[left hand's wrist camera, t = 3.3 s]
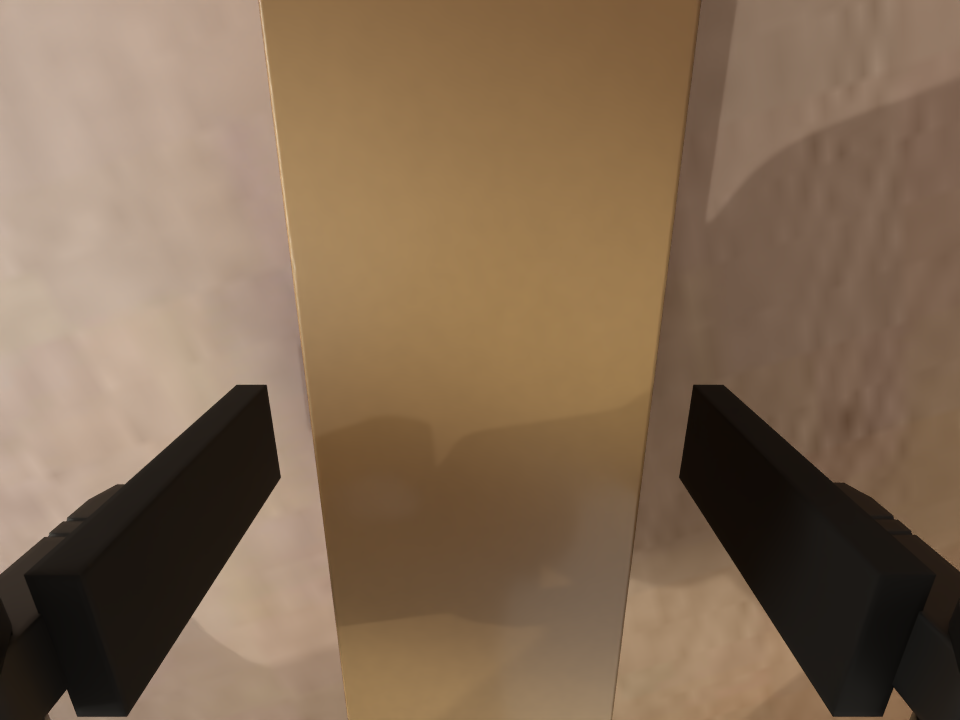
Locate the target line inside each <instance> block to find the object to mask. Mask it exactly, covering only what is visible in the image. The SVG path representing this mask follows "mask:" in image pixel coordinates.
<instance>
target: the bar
mask: <svg viewBox="0 0 960 720" xmlns="http://www.w3.org/2000/svg"><path fill="white" fill-rule="evenodd" d="M258 2H259V10H260V18H261V26H262V34H263V42H264V50H265V58H266V66H267V74H268V82H269V90H270V98H271V106H272V114H273V122H274V130H275V138H276V146H277V154H278V162H279V170H280V178H281V186H282V194H283V202H284V210H285V218H286V226H287V234H288V242H289V250H290V259H291V267H292V275H293V283H294V291H295V299H296V307H297V315H298V323H299V331H300V339H301V347H302V355H303V363H304V371H305V379H306V387H307V395H308V403H309V411H310V419H311V427H312V435H313V443H314V451H315V459H316V467H317V475H318V483H319V491H320V499H321V507H322V516H323V524H324V532H325V540H326V548H327V556H328V564H329V572H330V580H331V588H332V596H333V604H334V612H335V620H336V628H337V636H338V644H339V652H340V660H341V668H342V676H343V684H344V692H345V700H346V708H347V716H348V720H612V715H613V707H614V699H615V691H616V683H617V675H618V667H619V659H620V651H621V643H622V635H623V627H624V618H625V610H626V602H627V594H628V586H629V578H630V570H631V562H632V554H633V546H634V538H635V530H636V522H637V514H638V506H639V498H640V490H641V482H642V474H643V466H644V457H645V449H646V441H647V433H648V425H649V417H650V409H651V401H652V393H653V385H654V377H655V369H656V361H657V353H658V345H659V337H660V329H661V321H662V313H663V305H664V296H665V288H666V280H667V272H668V264H669V256H670V248H671V240H672V232H673V224H674V216H675V208H676V200H677V192H678V184H679V176H680V168H681V160H682V152H683V144H684V136H685V127H686V119H687V111H688V103H689V95H690V87H691V79H692V71H693V63H694V55H695V47H696V39H697V31H698V23H699V15H700V7H701V0H258Z"/></svg>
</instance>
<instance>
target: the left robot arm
mask: <svg viewBox="0 0 960 720" xmlns="http://www.w3.org/2000/svg"><path fill="white" fill-rule="evenodd" d="M280 478H281V475H280V469H279V462H278V456H277V449H276V443H275V436H274V430H273V423H272V417H271V410H270V404H269V397H268V391H267V385H236V386H235V387H234V388H233V389H231V390H230V391H229V392H228V393H227V394H226V395H225V396H224V397H222V398H221V399H220V400H219V401H218V402H217V403H216V404H215V405H214V406H212V407H211V408H210V409H209V410H208V411H207V412H206V413H205V414H203V415H202V416H201V417H200V418H199V419H198V420H197V421H196V422H194V423H193V424H192V425H191V426H190V427H189V428H188V429H187V430H185V431H184V432H183V433H182V434H181V435H180V436H179V437H178V438H176V439H175V440H174V441H173V442H172V443H171V444H170V445H169V446H168V447H166V448H165V449H164V450H163V451H162V452H161V453H160V454H159V455H157V456H156V457H155V458H154V459H153V460H152V461H151V462H150V463H148V464H147V465H146V466H145V467H144V468H143V469H142V470H141V471H139V472H138V473H137V474H136V475H135V476H134V477H133V478H132V479H130V480H129V481H128V482H127V483H126V484H117V485H115V486H113V487H111V488H109V489H108V490H106V491H104V492H102V493H100V494H98V495H96V496H95V497H93V498H91V499H89V500H88V501H86V502H85V503H84V504H83V505H82V506H81V507H79V508H78V509H77V510H76V511H75V512H74V513H72V514H71V515H70V516H69V517H68V518H67V521H66V522H62V523H61V524H59V525H58V526H57V527H56V528H55V529H53V530H52V531H51V532H50V533H49V537H44V538H43V539H42V540H40V541H39V542H38V543H37V544H36V545H35V546H33V547H32V548H31V549H30V550H29V551H27V552H26V553H25V554H24V555H23V556H22V557H20V558H19V559H18V560H17V561H16V562H15V563H13V564H12V565H11V566H10V567H9V568H7V569H6V570H5V571H4V572H3V573H2V574H0V720H50V717H49V715H48V712H49V711H50V710H51V709H52V707H53V706H54V705H55V704H56V702H57V701H58V700H59V699H60V697H61V696H62V695H63V694H64V692H65V691H66V690H68V693H69V696H70V698H71V701H72V704H73V706H74V709H75V711H76V714H77V717H127V716H128V714H129V713H130V711H131V710H132V708H133V706H134V705H135V703H136V702H137V700H138V699H139V697H140V696H141V694H142V692H143V691H144V689H145V688H146V686H147V685H148V683H149V682H150V680H151V678H152V677H153V675H154V674H155V672H156V671H157V669H158V668H159V666H160V664H161V663H162V661H163V660H164V658H165V657H166V655H167V654H168V652H169V651H170V649H171V647H172V646H173V644H174V643H175V641H176V640H177V638H178V637H179V635H180V633H181V632H182V630H183V629H184V627H185V626H186V624H187V623H188V621H189V619H190V618H191V616H192V615H193V613H194V612H195V610H196V609H197V607H198V605H199V604H200V602H201V601H202V599H203V598H204V596H205V595H206V593H207V591H208V590H209V588H210V587H211V585H212V584H213V582H214V581H215V579H216V577H217V576H218V574H219V573H220V571H221V570H222V568H223V567H224V565H225V563H226V562H227V560H228V559H229V557H230V556H231V554H232V553H233V551H234V550H235V548H236V546H237V545H238V543H239V542H240V540H241V539H242V537H243V536H244V534H245V532H246V531H247V529H248V528H249V526H250V525H251V523H252V522H253V520H254V518H255V517H256V515H257V514H258V512H259V511H260V509H261V508H262V506H263V504H264V503H265V501H266V500H267V498H268V497H269V495H270V494H271V492H272V490H273V489H274V487H275V486H276V484H277V483H278V481H279V480H280ZM679 478H680V480H681V481H682V483H683V484H684V486H685V487H686V489H687V490H688V492H689V494H690V495H691V497H692V498H693V500H694V501H695V503H696V504H697V506H698V508H699V509H700V511H701V512H702V514H703V515H704V517H705V518H706V520H707V522H708V523H709V525H710V526H711V528H712V529H713V531H714V532H715V534H716V536H717V537H718V539H719V540H720V542H721V543H722V545H723V546H724V548H725V550H726V551H727V553H728V554H729V556H730V557H731V559H732V560H733V562H734V564H735V565H736V567H737V568H738V570H739V571H740V573H741V574H742V576H743V577H744V579H745V581H746V582H747V584H748V585H749V587H750V588H751V590H752V591H753V593H754V595H755V596H756V598H757V599H758V601H759V602H760V604H761V605H762V607H763V609H764V610H765V612H766V613H767V615H768V616H769V618H770V619H771V621H772V623H773V624H774V626H775V627H776V629H777V630H778V632H779V633H780V635H781V637H782V638H783V640H784V641H785V643H786V644H787V646H788V647H789V649H790V651H791V652H792V654H793V655H794V657H795V658H796V660H797V661H798V663H799V665H800V666H801V668H802V669H803V671H804V672H805V674H806V675H807V677H808V678H809V680H810V682H811V683H812V685H813V686H814V688H815V689H816V691H817V692H818V694H819V696H820V697H821V699H822V700H823V702H824V703H825V705H826V706H827V708H828V710H829V711H830V713H831V714H832V716H833V717H883V714H884V711H885V709H886V706H887V704H888V701H889V698H890V696H891V693H892V690H893V688H895V689H896V691H897V692H898V693H899V694H900V696H901V697H902V698H903V699H904V701H905V702H906V703H907V704H908V706H909V707H910V708H911V709H912V711H913V712H912V715H911V717H910V720H960V572H959V571H958V570H957V569H956V568H955V567H953V566H952V565H951V564H950V563H949V562H948V561H946V560H945V559H944V558H943V557H942V556H940V555H939V554H938V553H937V552H936V551H934V550H933V549H932V548H931V547H930V546H929V545H927V544H926V543H925V542H924V541H923V540H921V539H920V538H919V537H918V536H917V535H912V533H911V530H910V529H908V528H907V527H906V526H905V525H904V524H902V523H901V522H900V521H899V520H894V518H893V515H892V514H891V513H889V512H888V511H887V510H886V509H885V508H883V507H882V506H881V505H880V504H879V503H877V502H876V501H875V500H874V499H873V498H871V497H869V496H867V495H866V494H864V493H862V492H860V491H858V490H856V489H854V488H853V487H851V486H849V485H847V484H845V483H833V482H832V481H831V480H830V479H828V478H827V477H826V476H825V475H824V474H823V473H822V472H821V471H819V470H818V469H817V468H816V467H815V466H814V465H813V464H812V463H810V462H809V461H808V460H807V459H806V458H805V457H804V456H803V455H801V454H800V453H799V452H798V451H797V450H796V449H795V448H794V447H792V446H791V445H790V444H789V443H788V442H787V441H786V440H785V439H784V438H782V437H781V436H780V435H779V434H778V433H777V432H776V431H775V430H773V429H772V428H771V427H770V426H769V425H768V424H767V423H766V422H764V421H763V420H762V419H761V418H760V417H759V416H758V415H757V414H755V413H754V412H753V411H752V410H751V409H750V408H749V407H748V406H746V405H745V404H744V403H743V402H742V401H741V400H740V399H739V398H737V397H736V396H735V395H734V394H733V393H732V392H731V391H730V390H729V389H727V388H726V387H725V386H724V385H693V391H692V397H691V404H690V410H689V417H688V423H687V430H686V436H685V443H684V449H683V456H682V462H681V469H680V475H679Z"/></svg>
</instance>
